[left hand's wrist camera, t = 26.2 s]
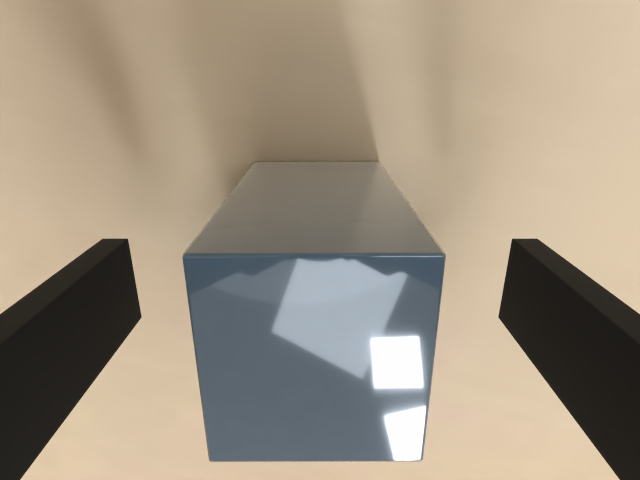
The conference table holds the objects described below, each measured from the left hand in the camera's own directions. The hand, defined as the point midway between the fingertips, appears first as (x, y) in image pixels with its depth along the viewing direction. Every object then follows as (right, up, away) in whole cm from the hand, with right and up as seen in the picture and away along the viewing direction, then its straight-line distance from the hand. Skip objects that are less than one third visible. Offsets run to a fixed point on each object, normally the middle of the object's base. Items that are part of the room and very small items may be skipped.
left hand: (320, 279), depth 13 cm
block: (0, +2, +5) cm, 5 cm away
